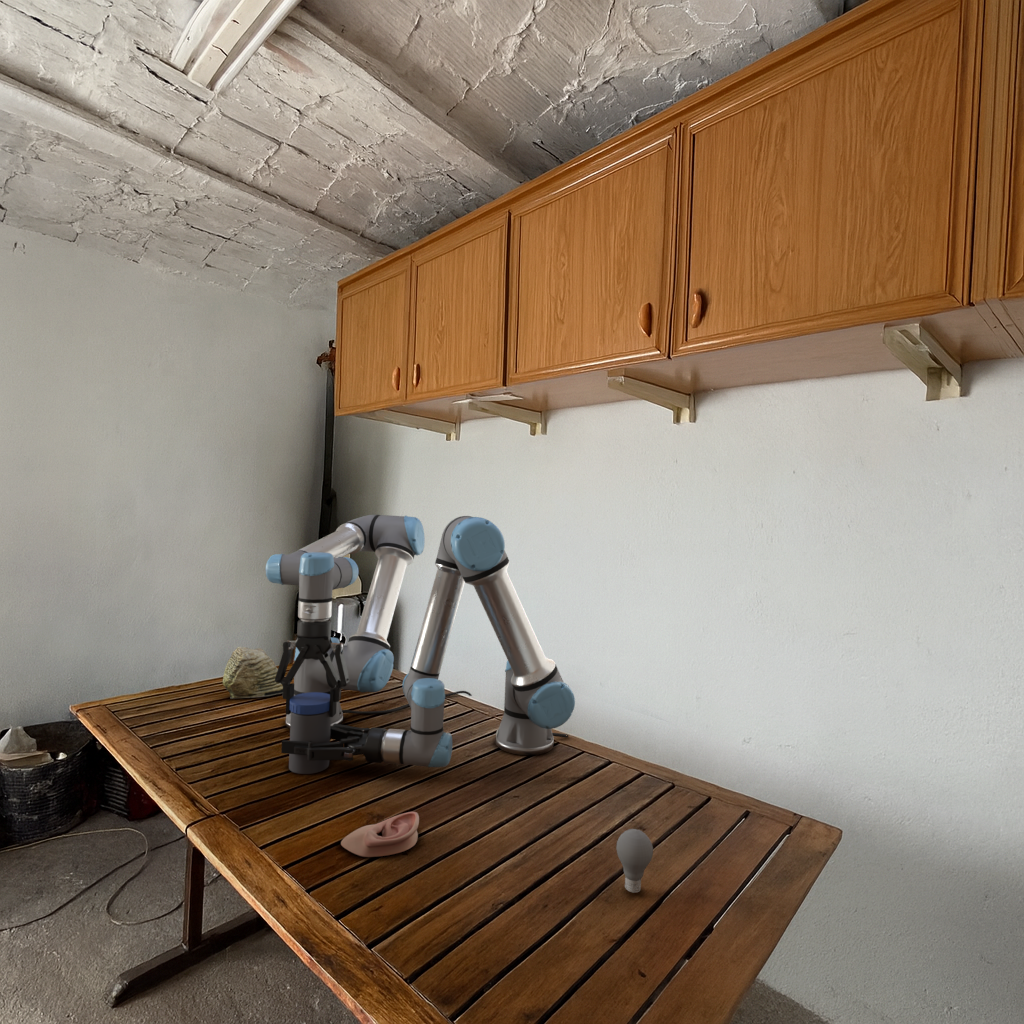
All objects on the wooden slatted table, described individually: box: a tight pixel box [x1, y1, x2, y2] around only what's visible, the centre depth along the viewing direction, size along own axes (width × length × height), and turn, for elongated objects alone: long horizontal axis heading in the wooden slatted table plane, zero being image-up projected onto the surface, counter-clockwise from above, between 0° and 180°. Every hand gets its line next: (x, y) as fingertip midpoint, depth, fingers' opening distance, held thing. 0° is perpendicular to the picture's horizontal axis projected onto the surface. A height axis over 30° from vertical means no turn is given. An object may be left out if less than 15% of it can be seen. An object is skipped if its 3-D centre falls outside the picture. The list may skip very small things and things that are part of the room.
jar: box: [288, 711, 331, 775], centre depth 149 cm, size 9×9×15 cm
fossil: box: [222, 646, 283, 699], centre depth 198 cm, size 9×18×15 cm, turn 132°
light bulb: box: [615, 828, 654, 894], centre depth 106 cm, size 6×6×10 cm
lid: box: [289, 692, 330, 715], centre depth 148 cm, size 10×10×2 cm
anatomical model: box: [340, 811, 420, 858], centre depth 117 cm, size 13×4×12 cm
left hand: (311, 713), depth 148 cm, fingers closed on lid, 10 cm apart
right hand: (291, 738), depth 149 cm, fingers closed on jar, 9 cm apart
